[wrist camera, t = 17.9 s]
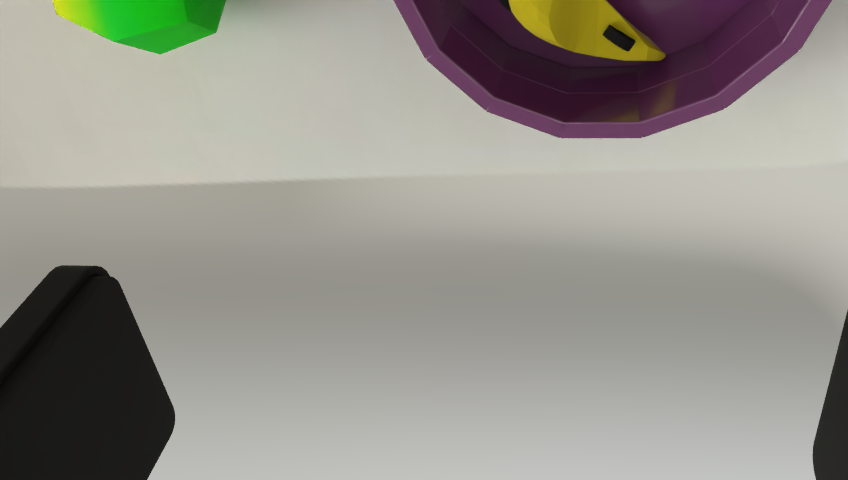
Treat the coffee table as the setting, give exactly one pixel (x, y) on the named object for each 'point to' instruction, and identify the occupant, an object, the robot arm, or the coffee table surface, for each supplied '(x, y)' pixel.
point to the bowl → (612, 61)
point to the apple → (145, 20)
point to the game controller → (585, 28)
